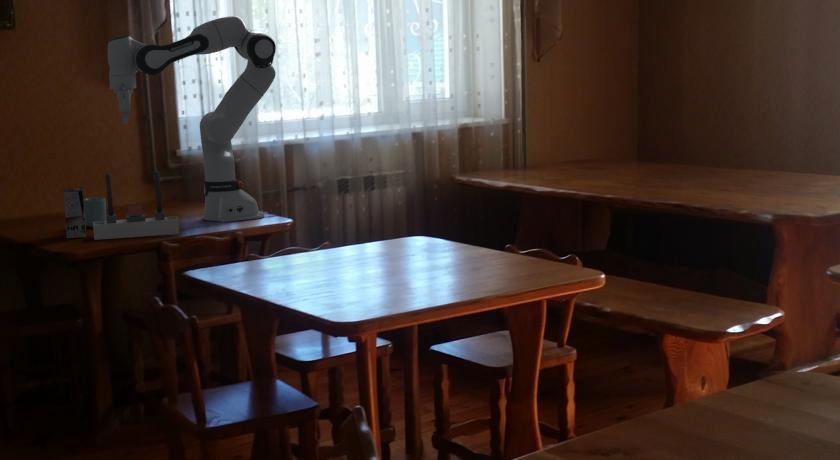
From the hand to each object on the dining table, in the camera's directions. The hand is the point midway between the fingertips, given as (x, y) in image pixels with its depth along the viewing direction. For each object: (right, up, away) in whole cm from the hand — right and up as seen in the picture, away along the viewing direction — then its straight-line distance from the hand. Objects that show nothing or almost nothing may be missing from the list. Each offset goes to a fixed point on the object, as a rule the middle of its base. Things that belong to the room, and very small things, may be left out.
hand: (125, 123), depth 368 cm
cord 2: (+13, -34, -6) cm, 37 cm away
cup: (-14, -36, +11) cm, 40 cm away
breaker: (+6, -33, -8) cm, 34 cm away
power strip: (+6, -39, -7) cm, 40 cm away
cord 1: (-2, -35, -10) cm, 36 cm away
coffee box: (-15, -39, -6) cm, 43 cm away
